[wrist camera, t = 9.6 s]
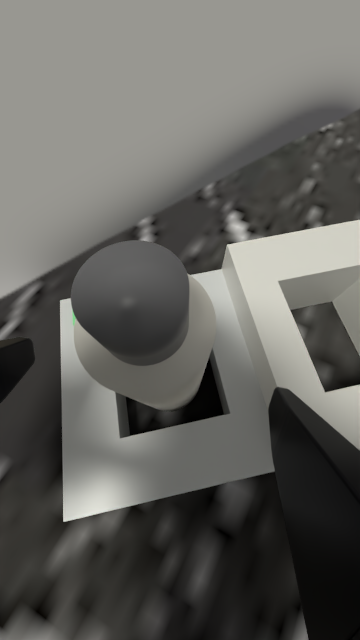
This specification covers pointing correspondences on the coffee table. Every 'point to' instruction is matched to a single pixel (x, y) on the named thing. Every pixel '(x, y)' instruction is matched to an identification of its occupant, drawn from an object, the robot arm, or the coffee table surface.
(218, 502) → the coffee table surface
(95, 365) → the plug
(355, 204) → the coffee table surface
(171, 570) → the coffee table surface
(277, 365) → the jack housing
